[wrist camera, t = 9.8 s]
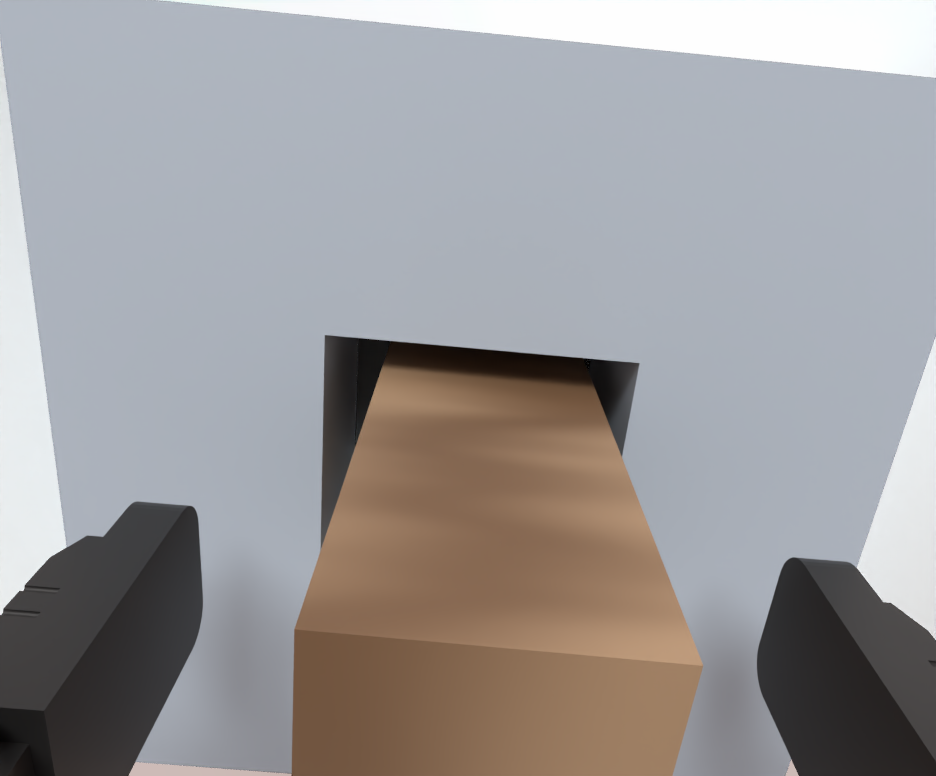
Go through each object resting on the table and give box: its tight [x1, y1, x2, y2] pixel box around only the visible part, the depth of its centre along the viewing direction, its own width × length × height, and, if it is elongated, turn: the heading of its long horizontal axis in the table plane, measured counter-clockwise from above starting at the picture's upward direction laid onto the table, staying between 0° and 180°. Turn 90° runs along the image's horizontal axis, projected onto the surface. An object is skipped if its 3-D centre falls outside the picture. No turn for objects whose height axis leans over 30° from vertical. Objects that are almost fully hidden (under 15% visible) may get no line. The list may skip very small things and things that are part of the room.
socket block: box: [0, 0, 936, 776], centre depth 15 cm, size 14×14×4 cm
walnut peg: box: [292, 341, 703, 776], centre depth 12 cm, size 4×4×10 cm
